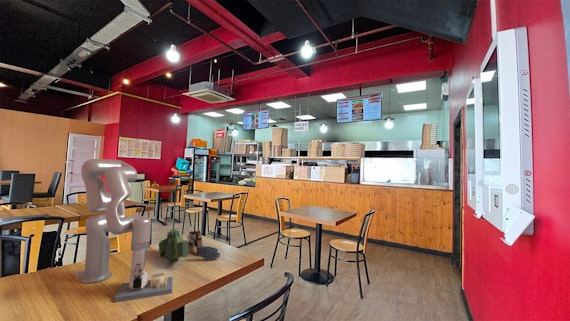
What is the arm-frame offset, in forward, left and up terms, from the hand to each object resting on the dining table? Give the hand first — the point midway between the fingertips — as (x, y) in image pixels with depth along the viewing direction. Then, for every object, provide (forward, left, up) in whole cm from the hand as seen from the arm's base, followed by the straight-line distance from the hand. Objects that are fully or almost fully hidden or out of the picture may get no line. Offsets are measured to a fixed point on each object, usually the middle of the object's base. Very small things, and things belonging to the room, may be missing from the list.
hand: (138, 283), depth 111 cm
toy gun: (+28, +50, -4) cm, 58 cm away
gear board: (+3, 0, -4) cm, 5 cm away
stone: (+34, +26, -4) cm, 44 cm away
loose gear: (0, 0, -1) cm, 1 cm away
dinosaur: (+16, +33, -4) cm, 37 cm away
